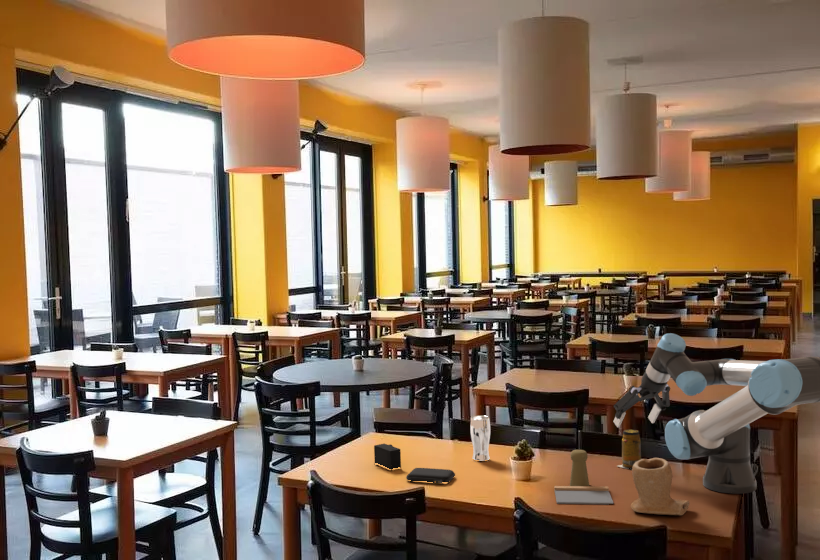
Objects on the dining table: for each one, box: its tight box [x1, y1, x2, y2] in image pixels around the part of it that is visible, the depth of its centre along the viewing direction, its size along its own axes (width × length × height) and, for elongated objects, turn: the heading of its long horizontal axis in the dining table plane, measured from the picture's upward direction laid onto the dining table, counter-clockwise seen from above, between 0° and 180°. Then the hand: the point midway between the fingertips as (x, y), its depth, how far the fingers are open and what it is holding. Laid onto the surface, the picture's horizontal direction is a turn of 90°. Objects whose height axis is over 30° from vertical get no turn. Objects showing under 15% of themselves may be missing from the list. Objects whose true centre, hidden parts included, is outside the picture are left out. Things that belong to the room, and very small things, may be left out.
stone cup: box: [630, 457, 690, 516], centre depth 218 cm, size 15×12×15 cm
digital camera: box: [373, 443, 402, 469], centre depth 273 cm, size 10×5×7 cm, turn 34°
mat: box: [553, 485, 614, 505], centre depth 234 cm, size 13×16×1 cm
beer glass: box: [470, 415, 491, 461], centre depth 278 cm, size 7×7×15 cm
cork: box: [569, 449, 590, 486], centre depth 245 cm, size 6×6×11 cm
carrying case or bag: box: [405, 467, 456, 483], centre depth 256 cm, size 11×3×15 cm
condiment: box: [617, 429, 642, 470], centre depth 264 cm, size 7×8×12 cm
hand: (633, 422), depth 262 cm, fingers open, 13 cm apart
